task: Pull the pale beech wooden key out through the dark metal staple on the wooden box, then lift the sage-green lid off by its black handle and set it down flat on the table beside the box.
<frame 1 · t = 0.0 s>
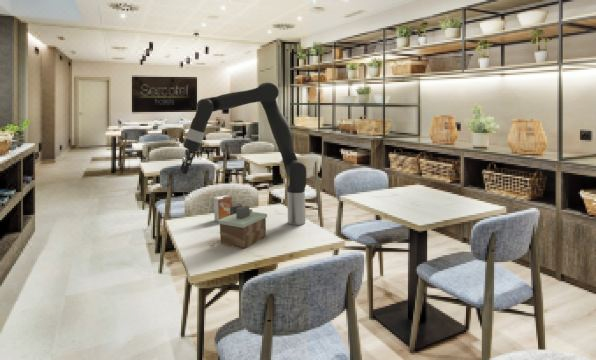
hand: (183, 172, 200), 31 cm above the table, tool tilted 20°, fingers open, 8 cm apart
wooden box: (243, 240, 199), on the table
small box: (223, 220, 232), on the table
lid: (243, 220, 197), point 10 cm above the table, touching wooden box
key: (237, 204, 204), point 15 cm above the table, slide at 0.0 cm
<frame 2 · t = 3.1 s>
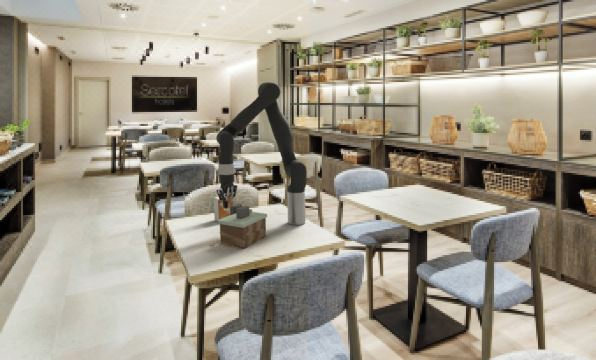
hand: (228, 207, 208), 13 cm above the table, tool pointing down, fingers closed on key, 3 cm apart
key: (237, 204, 204), point 15 cm above the table, slide at 0.0 cm, touching gripper
everything else where it was.
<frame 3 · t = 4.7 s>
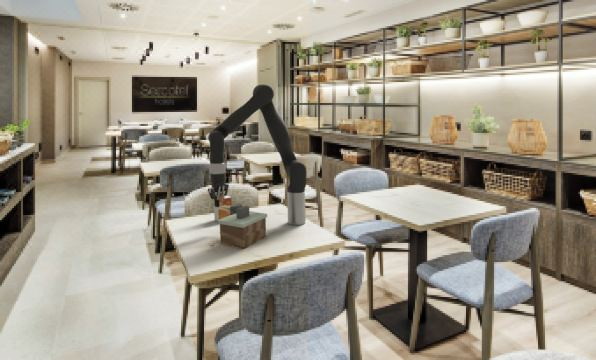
hand: (219, 205, 210), 13 cm above the table, tool pointing down, fingers closed on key, 3 cm apart
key: (228, 203, 207), point 15 cm above the table, slide at 5.4 cm, touching gripper
everything else where it was.
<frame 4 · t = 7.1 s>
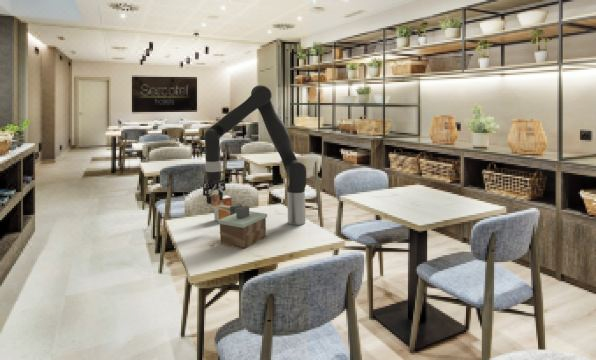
hand: (215, 201, 211), 15 cm above the table, tool pointing down, fingers open, 8 cm apart
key: (224, 202, 208), point 15 cm above the table, slide at 8.0 cm
everything else where it was.
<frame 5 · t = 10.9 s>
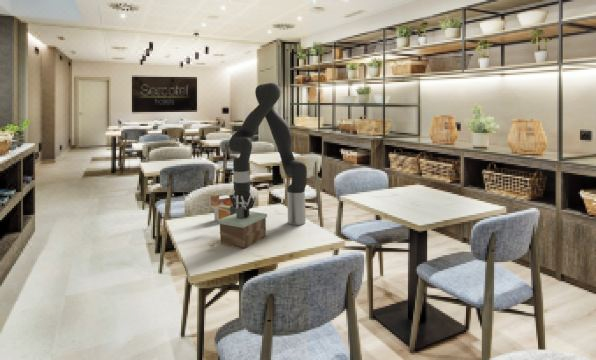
hand: (243, 216, 196), 12 cm above the table, tool pointing down, fingers closed on lid, 3 cm apart
lid: (243, 220, 197), point 10 cm above the table, touching gripper, wooden box
everything else where it was.
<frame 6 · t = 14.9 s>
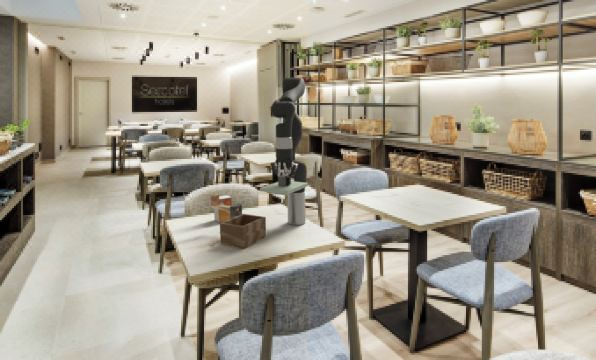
hand: (284, 184, 192), 27 cm above the table, tool pointing down, fingers closed on lid, 3 cm apart
lid: (284, 188, 192), point 25 cm above the table, touching gripper
everything else where it was.
when the fingers open (4 cm above the table, at t = 18.7 s): lid drops 2 cm, point 1 cm above the table.
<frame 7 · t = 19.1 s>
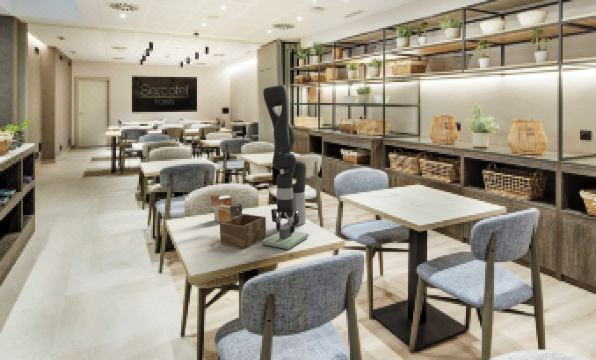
hand: (285, 231, 196), 5 cm above the table, tool pointing down, fingers open, 6 cm apart
lid: (285, 240, 197), point 1 cm above the table
everything else where it was.
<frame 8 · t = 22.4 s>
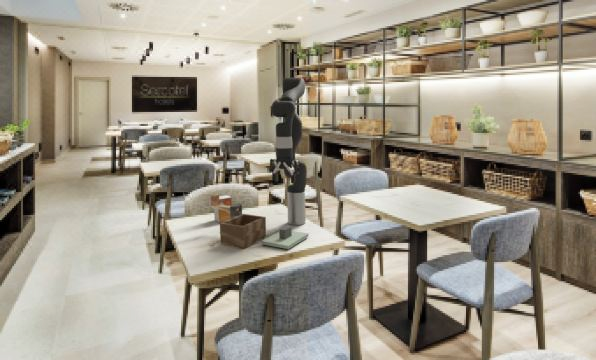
hand: (284, 182, 191), 28 cm above the table, tool pointing down, fingers open, 8 cm apart
nothing on the table moved.
at the end: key slide at 8.0 cm; lid inside the target area (0.0 cm from its centre), point 0.7 cm above the table; lid tilted 0° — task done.
